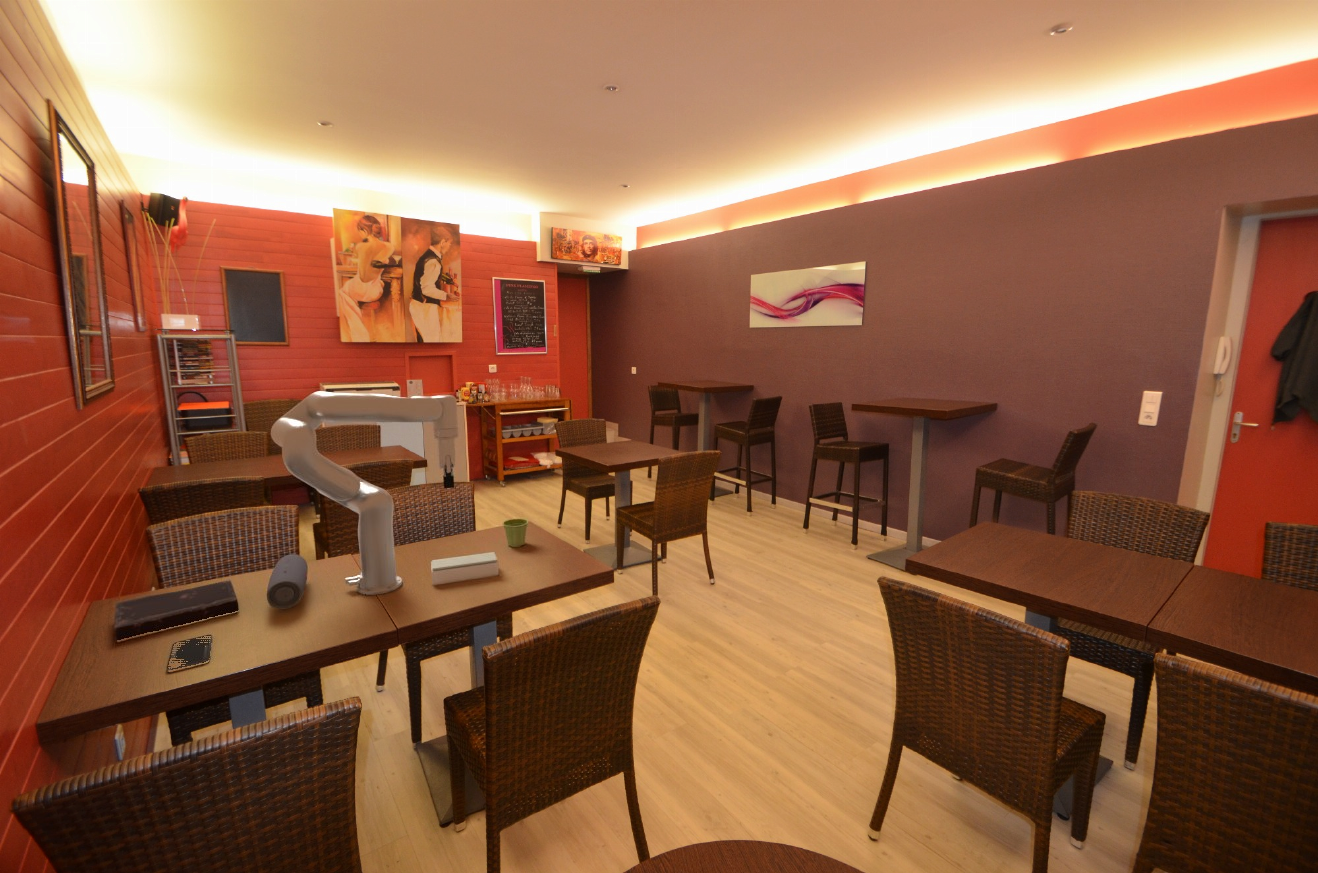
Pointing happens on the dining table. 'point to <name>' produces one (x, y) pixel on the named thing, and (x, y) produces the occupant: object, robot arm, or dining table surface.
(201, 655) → the phone
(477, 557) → the cover
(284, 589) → the bluetooth speaker
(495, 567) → the white hinged box
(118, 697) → the dining table surface
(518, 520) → the plant pot
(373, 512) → the robot arm
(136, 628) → the diary
